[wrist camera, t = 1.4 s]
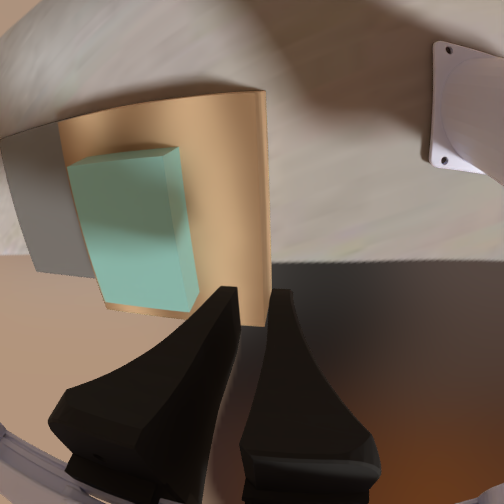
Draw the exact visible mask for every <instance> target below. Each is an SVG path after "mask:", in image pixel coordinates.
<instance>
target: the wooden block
mask: <svg viewBox="0 0 504 504" xmlns="http://www.w3.org/2000/svg"><path fill="white" fill-rule="evenodd" d="M58 127H59V134H60V140H61V145H62V151H63V156H64V162H65V167H66V172H67V176H68V181H69V185H70V190H71V194H72V198H73V202H74V206H75V210H76V214H77V218H78V222H79V225H80V229H81V233H82V236H83V239H84V235H83V232H82V228H81V224H80V221H79V217H78V213H77V209H76V205H75V201H74V197H73V193H72V189H71V184H70V180H69V175H68V170H67V167H68V166H70V165H72V164H74V163H76V162H78V161H80V160H82V159H84V158H86V157H90V156H97V155H104V154H112V153H120V152H128V151H137V150H147V149H158V148H170V147H179V152H180V161H181V169H182V177H183V185H184V193H185V200H186V208H187V215H188V222H189V229H190V236H191V242H192V249H193V255H194V261H195V268H196V274H197V280H198V286H199V291H200V292H199V294H198V296H197V298H196V300H195V302H194V305H193V307H192V309H191V311H190V312H181V311H172V310H163V309H154V308H146V307H138V306H131V305H123V304H116V303H109V302H105V300H104V297H103V294H102V291H101V289H100V286H99V283H98V280H97V277H96V274H95V271H94V268H93V265H92V262H91V259H90V255H89V252H88V249H87V245H86V242H85V239H84V243H85V246H86V250H87V253H88V256H89V259H90V262H91V265H92V268H93V271H94V274H95V277H96V280H97V283H98V286H99V289H100V292H101V295H102V297H103V300H104V303H105V305H106V308H107V309H110V310H116V311H124V312H130V313H137V314H144V315H152V316H160V317H168V318H176V319H186V320H187V319H188V318H189V317H190V316H191V315H192V314H193V313H194V312H195V311H196V310H197V309H198V308H199V307H200V306H201V305H202V304H203V303H204V302H205V301H206V300H207V299H208V298H209V297H210V296H211V295H212V294H213V293H214V292H215V291H216V290H217V289H218V288H219V287H220V286H233V287H237V288H238V299H239V310H240V321H241V325H248V326H260V327H264V326H265V321H266V316H267V311H268V306H269V299H270V295H271V291H272V287H271V285H272V284H271V236H270V198H269V166H268V138H267V112H266V91H246V92H229V93H215V94H204V95H194V96H185V97H177V98H169V99H162V100H155V101H149V102H143V103H137V104H131V105H126V106H120V107H115V108H110V109H106V110H101V111H97V112H92V113H89V114H85V115H81V116H78V117H74V118H71V119H67V120H64V121H61V122H58Z"/></svg>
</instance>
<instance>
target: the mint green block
mask: <svg viewBox="0 0 504 504" xmlns="http://www.w3.org/2000/svg"><path fill="white" fill-rule="evenodd" d="M67 170H68V175H69V180H70V184H71V189H72V193H73V197H74V201H75V205H76V209H77V213H78V217H79V221H80V224H81V228H82V232H83V235H84V239H85V242H86V245H87V249H88V252H89V255H90V259H91V262H92V265H93V268H94V271H95V274H96V277H97V280H98V283H99V286H100V289H101V291H102V294H103V297H104V300H105V302H109V303H116V304H123V305H131V306H138V307H146V308H154V309H163V310H172V311H181V312H190V311H191V309H192V307H193V305H194V302H195V300H196V298H197V296H198V294H199V292H200V291H199V286H198V280H197V274H196V268H195V261H194V255H193V249H192V242H191V236H190V229H189V222H188V215H187V208H186V200H185V193H184V185H183V177H182V169H181V161H180V152H179V147H170V148H158V149H147V150H137V151H128V152H120V153H112V154H104V155H97V156H90V157H86V158H84V159H82V160H80V161H78V162H76V163H74V164H72V165H70V166H68V167H67Z"/></svg>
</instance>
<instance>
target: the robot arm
mask: <svg viewBox="0 0 504 504" xmlns="http://www.w3.org/2000/svg"><path fill="white" fill-rule="evenodd" d="M446 47H449V49H450V51H451V53H450V54H448V53H447V52H446ZM443 157H446V161H445V162H444V163H441V159H442V158H443ZM429 162H430V164H432V165H433V166H434V167H437V168H445V169H452V170H459V171H466V172H473V173H479V174H485V175H488V176H490V177H491V178H493V179H494V180H496V181H497V182H498V183H500V184H501V185H503V186H504V58H499V57H496V56H493V55H490V54H487V53H484V52H481V51H478V50H474V49H471V48H467V47H464V46H460V45H456V44H452V43H448V42H444V41H436V42H435V43H434V44H433V107H432V126H431V139H430V151H429ZM240 334H241V321H240V310H239V299H238V288H237V287H233V286H220V287H219V288H218V289H217V290H216V291H215V292H214V293H213V294H212V295H211V296H210V297H209V298H208V299H207V300H206V301H205V302H204V303H203V304H202V305H201V306H200V307H199V308H198V309H197V310H196V311H195V312H194V313H193V314H192V315H191V316H190V317H189V318H188V319H187V320H186V321H185V322H184V323H183V324H182V325H181V326H179V327H178V328H177V329H176V330H175V331H174V332H173V333H171V334H170V335H169V336H168V337H167V338H165V339H164V340H163V341H161V342H160V343H159V344H157V345H156V346H155V347H153V348H152V349H150V350H149V351H147V352H146V353H144V354H143V355H141V356H139V357H138V358H136V359H134V360H133V361H131V362H129V363H128V364H126V365H124V366H122V367H121V368H118V369H116V370H114V371H112V372H111V373H108V374H106V375H104V376H102V377H99V378H97V379H94V380H92V381H89V382H87V383H84V384H81V385H79V386H75V387H73V388H69V389H67V390H66V391H65V393H64V394H63V396H62V397H61V399H60V401H59V402H58V404H57V405H56V407H55V409H54V410H53V412H52V414H51V415H50V417H49V419H48V425H49V427H50V429H51V431H52V432H53V433H54V434H55V435H56V436H57V437H58V439H60V441H61V442H62V443H63V444H64V445H65V446H66V447H67V448H68V449H69V450H70V451H71V452H72V453H73V454H72V456H71V458H70V460H69V462H68V463H66V462H64V461H61V460H59V459H57V458H55V457H53V456H51V455H49V454H48V453H46V452H44V451H42V450H40V449H38V448H36V447H35V446H33V445H31V444H29V443H27V442H26V441H24V440H22V439H20V438H19V437H17V436H16V435H14V434H12V433H11V432H9V431H7V430H6V428H5V427H4V426H3V425H2V424H1V423H0V494H2V495H3V496H4V497H5V498H7V499H8V500H9V501H10V502H12V503H13V504H105V503H103V502H101V501H99V500H97V499H95V498H93V497H91V496H89V494H90V495H92V496H94V497H96V498H99V499H101V500H104V501H106V502H109V503H111V504H202V497H203V490H204V484H205V477H206V471H207V466H208V460H209V454H210V449H211V444H212V439H213V433H214V429H215V424H216V419H217V415H218V410H219V407H220V403H221V400H222V397H223V394H224V391H225V388H226V385H227V382H228V379H229V376H230V373H231V370H232V366H233V364H234V361H235V357H236V354H237V350H238V344H239V339H240ZM239 446H240V451H241V456H242V461H243V466H244V471H245V476H246V480H245V485H244V490H243V495H242V501H245V504H368V503H369V489H370V488H371V487H372V486H373V484H374V483H375V482H376V481H377V480H378V479H379V477H380V475H381V464H380V459H379V454H378V451H377V447H376V445H375V442H374V439H373V436H372V434H371V433H370V432H369V431H368V430H367V429H366V428H365V427H364V426H363V425H362V424H361V423H360V422H359V421H358V420H357V418H356V417H355V416H354V415H353V414H352V413H351V411H350V410H349V409H348V408H347V407H346V405H345V404H344V403H343V402H342V401H341V399H340V398H339V396H338V395H337V394H336V392H335V391H334V389H333V388H332V387H331V385H330V384H329V382H328V381H327V379H326V377H325V376H324V374H323V372H322V371H321V369H320V367H319V366H318V364H317V362H316V360H315V358H314V356H313V354H312V352H311V351H310V348H309V346H308V344H307V342H306V339H305V337H304V334H303V332H302V329H301V326H300V324H299V321H298V317H297V314H296V310H295V306H294V300H293V292H292V291H291V290H290V289H272V292H271V295H270V299H269V314H268V334H267V345H266V351H265V356H264V361H263V365H262V369H261V373H260V378H259V381H258V386H257V389H256V393H255V396H254V400H253V403H252V407H251V410H250V414H249V417H248V420H247V423H246V426H245V429H244V432H243V435H242V438H241V440H240V443H239ZM456 504H504V483H503V484H500V485H498V486H495V487H493V488H491V489H489V490H487V491H486V492H484V493H482V494H481V495H480V496H479V497H478V498H475V499H471V500H467V501H464V502H460V503H456Z"/></svg>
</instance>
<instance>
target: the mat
mask: <svg viewBox="0 0 504 504" xmlns="http://www.w3.org/2000/svg"><path fill="white" fill-rule="evenodd" d="M88 114H89V113H88ZM84 115H85V114H84ZM79 116H81V115H79ZM75 117H78V116H75ZM72 118H74V117H72ZM68 119H71V118H68ZM64 120H67V119H64ZM64 120H60V121H57V122H53V123H50V124H46V125H43V126H39V127H36V128H33V129H30V130H27V131H24V132H21V133H18V134H15V135H12V136H9V137H6V138H3V139H1V140H0V148H1V154H2V159H3V163H4V168H5V172H6V177H7V181H8V185H9V189H10V193H11V196H12V200H13V204H14V207H15V211H16V214H17V217H18V221H19V224H20V227H21V230H22V233H23V236H24V239H25V242H26V245H27V248H28V250H29V253H30V256H31V259H32V261H33V264H34V266H35V269H36V271H37V272H44V273H53V274H61V275H69V276H78V277H87V278H96V277H95V274H94V271H93V268H92V265H91V262H90V259H89V256H88V253H87V250H86V246H85V243H84V239H83V236H82V233H81V229H80V225H79V222H78V218H77V214H76V210H75V206H74V202H73V198H72V194H71V190H70V185H69V181H68V176H67V172H66V167H65V162H64V156H63V151H62V145H61V140H60V134H59V127H58V122H61V121H64Z"/></svg>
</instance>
